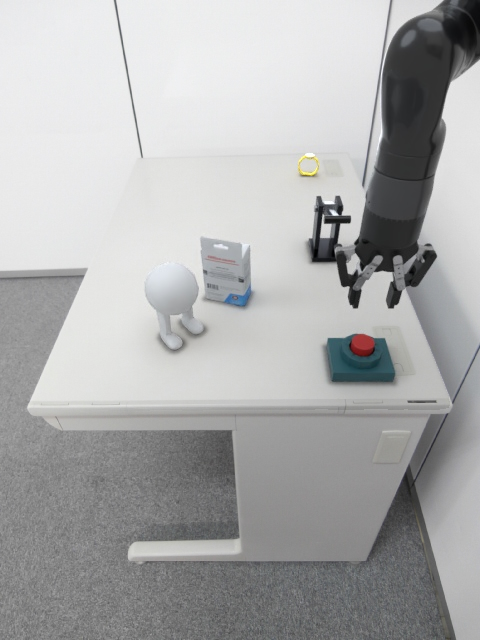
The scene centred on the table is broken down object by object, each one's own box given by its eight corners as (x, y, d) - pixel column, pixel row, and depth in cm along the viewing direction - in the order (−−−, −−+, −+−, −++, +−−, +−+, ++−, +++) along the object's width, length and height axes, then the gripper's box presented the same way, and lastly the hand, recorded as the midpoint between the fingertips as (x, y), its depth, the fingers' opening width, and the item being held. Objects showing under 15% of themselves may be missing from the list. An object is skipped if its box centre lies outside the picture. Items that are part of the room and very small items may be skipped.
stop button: (370, 341, 75) (372, 334, 73) (374, 357, 72) (376, 349, 71) (349, 341, 75) (350, 333, 73) (352, 357, 72) (354, 349, 71)
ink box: (252, 291, 91) (251, 229, 81) (244, 307, 87) (242, 244, 77) (213, 284, 93) (208, 222, 83) (204, 299, 89) (198, 236, 79)
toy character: (176, 357, 78) (164, 291, 68) (144, 333, 82) (129, 268, 72) (213, 331, 82) (207, 265, 72) (181, 309, 87) (171, 245, 77)
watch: (297, 176, 130) (298, 156, 125) (297, 172, 132) (299, 152, 127) (317, 177, 129) (319, 157, 125) (318, 173, 131) (320, 153, 127)
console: (382, 346, 78) (387, 330, 76) (392, 381, 73) (398, 365, 70) (326, 346, 79) (328, 330, 76) (331, 381, 73) (334, 365, 70)
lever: (350, 226, 84) (351, 214, 83) (324, 227, 84) (325, 214, 83) (338, 212, 95) (339, 201, 94) (315, 212, 95) (316, 201, 94)
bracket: (339, 261, 98) (347, 209, 89) (312, 262, 98) (317, 210, 89) (333, 242, 103) (341, 191, 95) (308, 242, 104) (313, 191, 95)
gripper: (343, 218, 53) (327, 322, 64) (464, 217, 52) (426, 322, 64) (335, 189, 58) (321, 289, 70) (444, 188, 58) (413, 289, 69)
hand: (372, 304), depth 67 cm, fingers open, 4 cm apart
